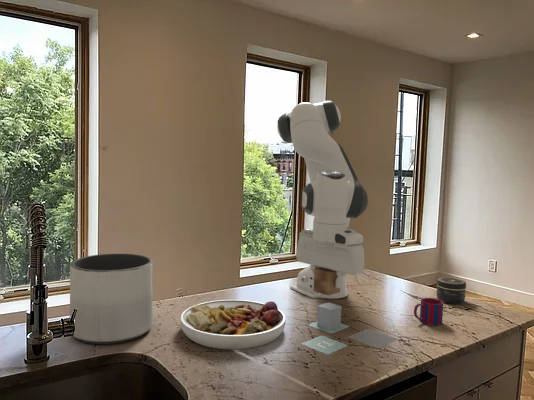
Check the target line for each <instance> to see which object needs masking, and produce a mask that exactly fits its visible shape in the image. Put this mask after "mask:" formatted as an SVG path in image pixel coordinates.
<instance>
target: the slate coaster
mask: <svg viewBox="0 0 534 400" xmlns="http://www.w3.org/2000/svg"><path fill="white" fill-rule="evenodd" d="M347 339H351V340H354V341H357V342H360V343H361V344H365V345H367V346H370V347H372V348H376V349H378V350H379V349H380V348H382V347H384V346H387V345H390V344H391V343H392V342H395V341H398V338H396V337H393V336H390V335H387V334H384V333H381V332H379V331H375V330H372V329H369V328H366V329H364V330H361V331H359V332H356V333H354V334H351V335H349V336H348V337H347Z"/></svg>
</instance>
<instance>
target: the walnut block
mask: <svg viewBox="0 0 534 400" xmlns="http://www.w3.org/2000/svg"><path fill="white" fill-rule="evenodd" d="M337 277H338V275H337V271H335V270H331V269H327V268H323V267H322V268H317V269H314V291H315V292H318V293H321V294H325V295H328V296H329V295H332V294H336V293H339V292H340V288H336V287H333V280H336V279H337Z"/></svg>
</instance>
